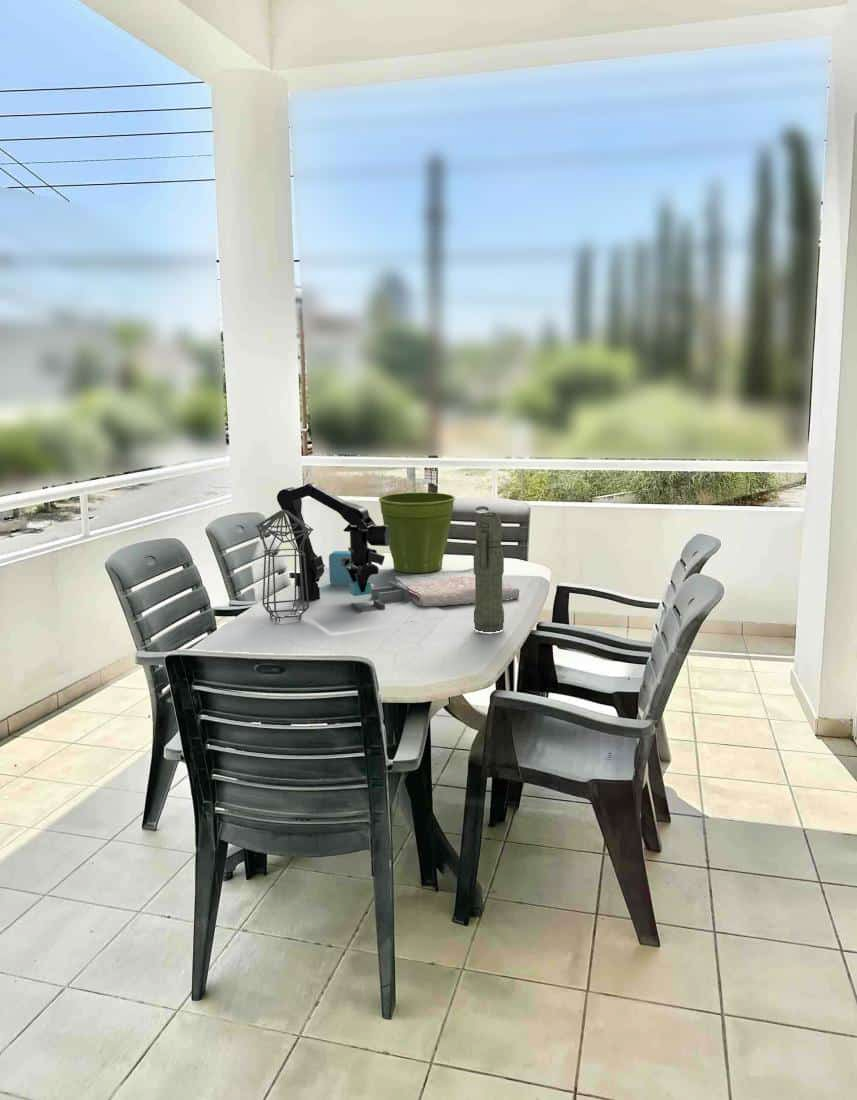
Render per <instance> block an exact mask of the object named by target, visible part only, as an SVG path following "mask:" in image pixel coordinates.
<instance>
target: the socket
mask: <svg viewBox="0 0 857 1100" xmlns="http://www.w3.org/2000/svg"><path fill="white" fill-rule="evenodd" d="M370 596H371V597H370V598H371V599H372V600H374V599H375V600H376V599H378V601H379V602H381V603H383V604H384V603H389V602H397V601H404V602H405V603H408V602H410V599H409V589H407V588H405V587H403V586H401V585H399V584H397V583H395V581H393V580H391V581H388V586H383V587H375V589H371V594H370Z"/></svg>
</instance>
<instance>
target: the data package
mask: <svg viewBox="0 0 857 1100" xmlns="http://www.w3.org/2000/svg"><path fill="white" fill-rule="evenodd" d="M344 557H351V552H350V551H347V550H346V551H345V550H335V551H332V552H331V553H330V554H329V555H328V568H329V569H328V571H329V573H328V574H329V583H330V584H331V585H332V586H348V585H350V582H352V580H351V578H350V576H349V574H348V572H347V570H346V568H348V565H346V567H343V566H342V564H341V560H342V559H343V558H344Z"/></svg>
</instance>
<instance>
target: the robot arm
mask: <svg viewBox="0 0 857 1100" xmlns="http://www.w3.org/2000/svg"><path fill="white" fill-rule="evenodd" d="M306 497H310V498H311V499H313V500H315V501H317V502H318V503H320V504H323V505H324V506H326V507H328V508H329V509H331V510H332V511H334V512H336V513H338V514H339V515H340V516H341V517H342V518H343V519H344V520H345V521H346V523H348V524H347V526H346V527H345V528H344V529H343V532H349V544H350V545H349V547H347V548H348V551H350V552H351V557H344V558H343V559H342V560H341V564H342V566H343V567H346V565H348V568H346V570H347V572H348V574H349V576H350V578H351V580H352V582H353V581H357V582H358V585H359V588H360V591H361V592H365V588H366V585H367V581H369V578H370V577H371V576H373V575H379V573H380V571H379V569H380V568H379V567H378V566H377V564H378V565H380V566H383V564H384V561H385V558H386V556H385V555H384V554H380V553H378V552H377V549H374V548H371V547H370V548H369V546H368V544H369V545H370V546H378V547H389V544H390V539H391V534H390V532H389V529H388V525H384V524H382V525H376V523H375V521H374V520H373V519H372V517H371V516H370V514H369V513H370V512H369V510H368V509H367V508H366V507H365V506H362V505H359V504H357V503H352V502H348V501H346V500H344V499H342V498H340V497H339V496H337V495H335V494H333V493H331V492H329V491H327V490H326V489H324V488H323V487H321V486H319V485H318V484H317V483H314V482H311V483H307V484H305V485H303V486H300V487H293V486H292V487H291V486H290V487H288V488H283V489H280V490H279V491H278V493H277V495H276V501H277V503H278V505H279V507H280V508H281V510H286V511H289V512H290V513H291V514H293V515H294V516H296V517H297V518H298V519H300V520H301V521H302V522H304V523H305V520H304V515H303V513H302V507H303V501H302V499H303V498H306ZM285 515H286V517H287V520H288V523H289V525H290V524H295V523H296V522H295V521H294V520H293V519H292V518H291V517H290V516H289V515H287V514H286V513H285ZM294 516H293V517H294ZM297 518H296V519H297ZM301 521H300V522H301ZM304 523H303V524H304ZM305 524H306V523H305ZM305 524H304V525H305ZM294 526H296V525H294ZM294 526H290V529H292V528H293V527H294ZM305 526H306V525H305ZM301 530H303V528H302V526H300V525H298V526H297V527H296V528H295V529H294V530H292V531H291V532H295V531H301ZM302 533H303V532H300V533H294V534H292V536H293V537H294V538H295V537H297V536H298V535H300V534H302ZM305 535H306V533H305ZM303 537H304V534H303V535H302V536H300V537H298V538H297V539H295V540H294V542H295V545H296V546H297V548H298V549H299V547H300V545H301V542H302V540H303ZM303 543H304V550H303V544H302V546H301V549H300V550H301V551H302V550H303V552H304V553H305V561H306V574H307V587H308V600H309V602H314V601H317V600H320V599H321V593H320V589H321V588H320V587H319V583H318V582H319V581H320V580H321V577H322V576H323V575H324V573H325V567H326V565H325V564H324V560H323V557H322V555H319V556H318V555H317V554H316V553H315V551H314V549H313V546H312V542H311V538H310V535H309V536H308V539H305V542H304V541H303ZM301 551H300V554H302V552H301ZM374 563H375V564H374ZM301 565H302V578H303V591H304V602H307V597H306V584H305V571H304V558H303V555H302V556H301ZM296 587H297V597H298V598H296V600H300V601H302V595H301V581H300V574H298V576H296Z"/></svg>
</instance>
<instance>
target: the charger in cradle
mask: <svg viewBox="0 0 857 1100" xmlns="http://www.w3.org/2000/svg"><path fill="white" fill-rule="evenodd" d="M350 608H351V609H352V610H354V611H356V612H357V613H367V612H375V611H380V610H385V609H386V604H385V603H384V602H383V603H381V602H379V600H377V599H375V600H374V599H373V604H370V605H362V606H360V605H358V604H357V603H355V602H351V603H350Z"/></svg>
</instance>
